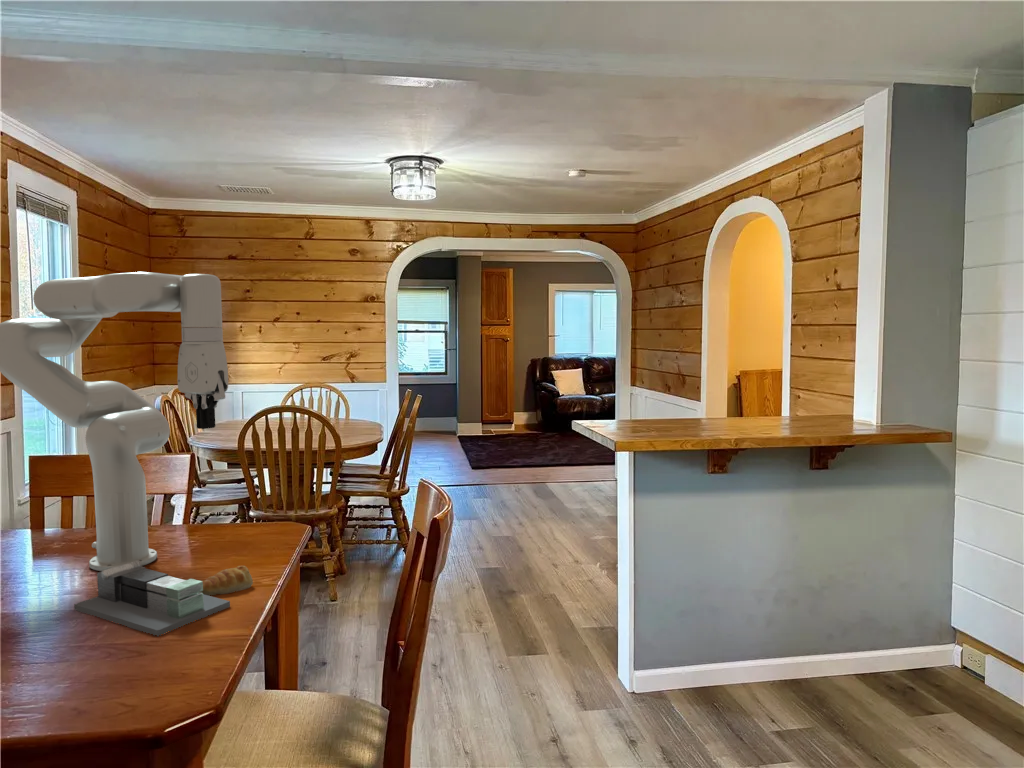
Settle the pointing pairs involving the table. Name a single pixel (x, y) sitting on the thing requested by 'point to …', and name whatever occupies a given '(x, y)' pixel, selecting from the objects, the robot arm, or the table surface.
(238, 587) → the pastry
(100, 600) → the slate mat
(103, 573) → the stand
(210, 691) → the table surface
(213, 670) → the table surface
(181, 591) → the bar
